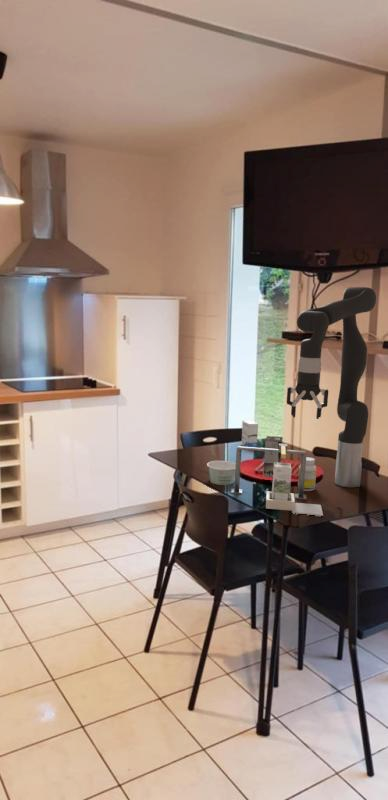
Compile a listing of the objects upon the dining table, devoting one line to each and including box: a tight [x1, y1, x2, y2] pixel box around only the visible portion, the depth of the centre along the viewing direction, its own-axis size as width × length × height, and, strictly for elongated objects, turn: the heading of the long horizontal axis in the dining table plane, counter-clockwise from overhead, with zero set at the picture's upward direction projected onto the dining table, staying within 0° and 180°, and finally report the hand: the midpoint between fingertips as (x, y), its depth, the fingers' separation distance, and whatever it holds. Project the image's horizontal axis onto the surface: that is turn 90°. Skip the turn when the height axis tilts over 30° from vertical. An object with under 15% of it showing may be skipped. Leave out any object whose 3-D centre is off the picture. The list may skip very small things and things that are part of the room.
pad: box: [291, 502, 324, 517], centre depth 207 cm, size 10×10×1 cm
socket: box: [265, 490, 296, 512], centre depth 211 cm, size 10×10×3 cm
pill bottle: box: [297, 456, 317, 492], centre depth 229 cm, size 6×6×12 cm
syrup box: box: [271, 462, 293, 501], centre depth 210 cm, size 6×6×14 cm
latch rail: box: [230, 445, 308, 501], centre depth 220 cm, size 27×4×17 cm, turn 83°
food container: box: [206, 460, 236, 486], centre depth 235 cm, size 12×12×6 cm
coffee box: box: [262, 435, 283, 478], centre depth 240 cm, size 9×6×16 cm
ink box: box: [241, 419, 259, 448], centre depth 291 cm, size 9×5×12 cm, turn 17°
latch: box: [279, 443, 288, 459], centre depth 212 cm, size 3×15×2 cm, turn 173°
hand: (305, 417), depth 211 cm, fingers open, 7 cm apart
